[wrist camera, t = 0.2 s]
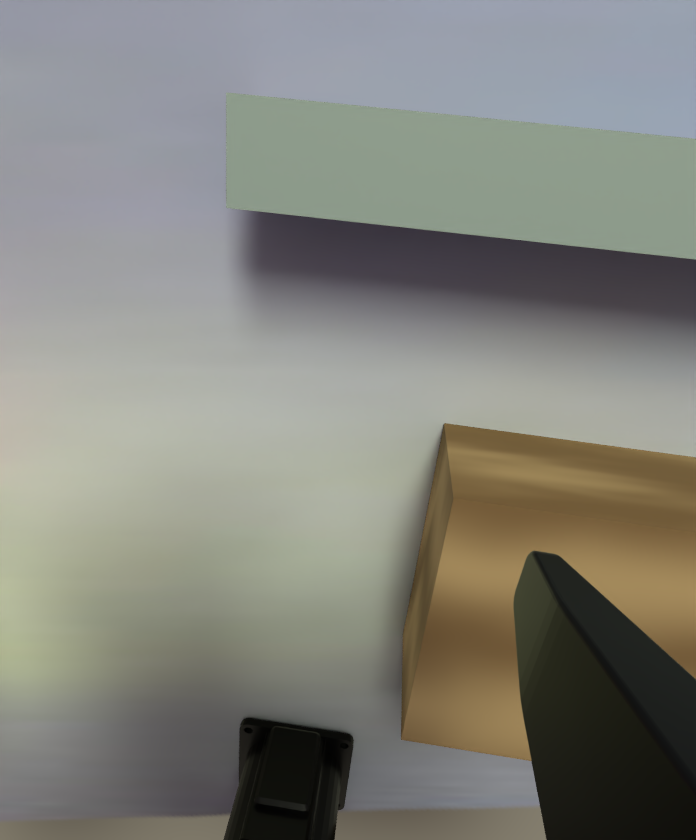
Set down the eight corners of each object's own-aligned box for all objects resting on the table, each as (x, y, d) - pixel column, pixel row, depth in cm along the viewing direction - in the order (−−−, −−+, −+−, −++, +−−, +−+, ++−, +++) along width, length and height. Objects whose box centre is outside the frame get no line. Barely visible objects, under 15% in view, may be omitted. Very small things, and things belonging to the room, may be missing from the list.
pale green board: (1075, 288, 19) (1232, 318, 15) (259, 199, 20) (226, 207, 17) (1137, 192, 18) (1324, 201, 14) (261, 105, 19) (226, 92, 15)
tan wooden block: (640, 667, 28) (694, 787, 23) (402, 630, 29) (401, 739, 23) (735, 459, 23) (834, 552, 18) (443, 420, 24) (453, 498, 18)
